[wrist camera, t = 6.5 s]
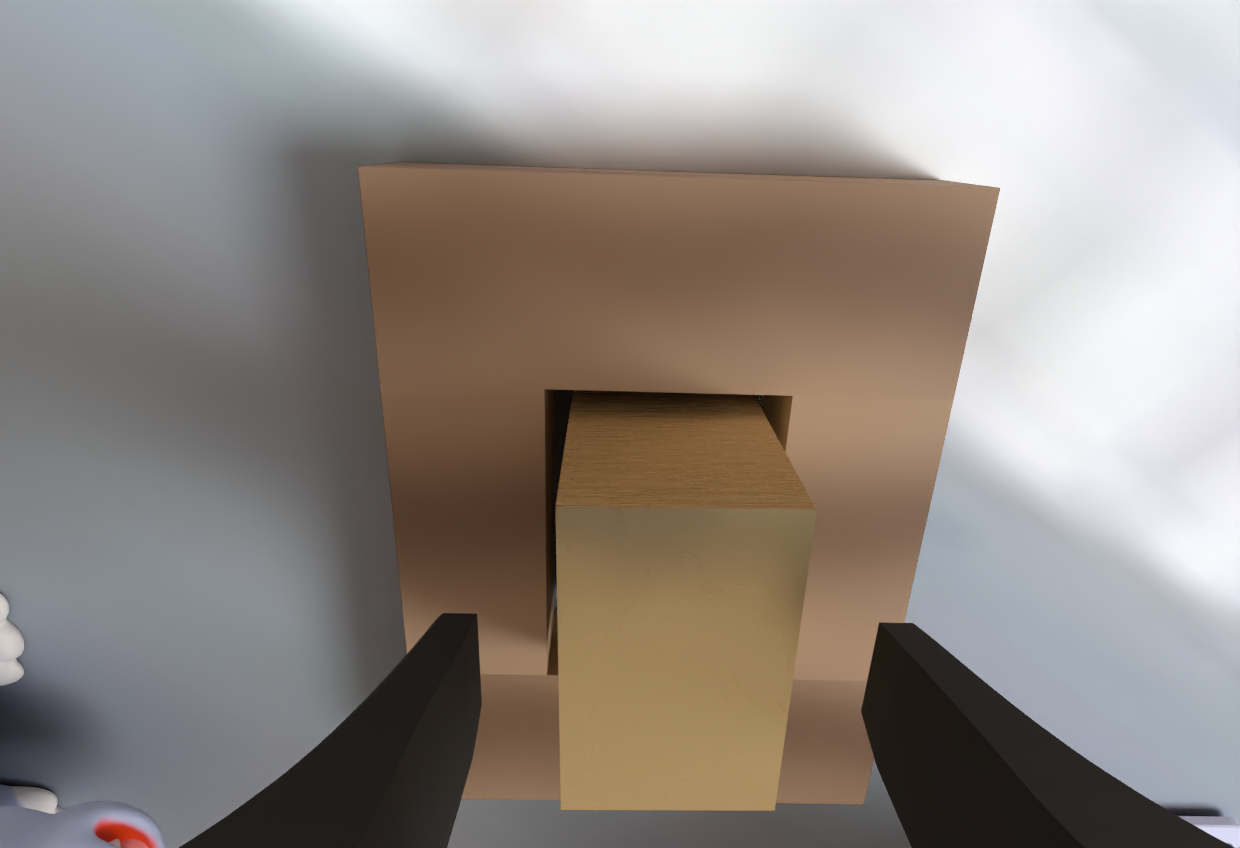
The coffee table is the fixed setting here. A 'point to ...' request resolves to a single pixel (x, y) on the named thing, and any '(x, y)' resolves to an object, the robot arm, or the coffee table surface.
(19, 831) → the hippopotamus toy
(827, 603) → the slot board
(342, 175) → the coffee table surface
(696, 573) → the key peg
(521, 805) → the coffee table surface
